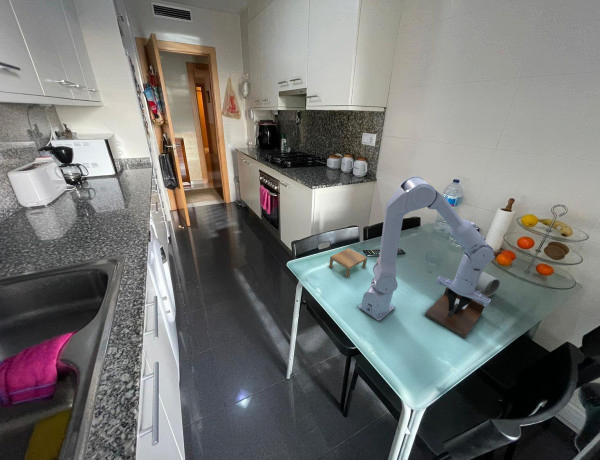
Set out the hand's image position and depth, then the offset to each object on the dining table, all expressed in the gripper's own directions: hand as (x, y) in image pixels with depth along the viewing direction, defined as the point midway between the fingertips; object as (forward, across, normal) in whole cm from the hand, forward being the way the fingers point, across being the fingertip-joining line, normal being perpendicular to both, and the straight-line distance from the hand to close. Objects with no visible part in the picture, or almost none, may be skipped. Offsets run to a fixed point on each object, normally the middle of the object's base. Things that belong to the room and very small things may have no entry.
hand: (453, 311), depth 80 cm
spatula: (0, 0, -2) cm, 2 cm away
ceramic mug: (+3, -1, -23) cm, 23 cm away
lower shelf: (+3, 0, -2) cm, 3 cm away
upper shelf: (+3, +40, +4) cm, 40 cm away
